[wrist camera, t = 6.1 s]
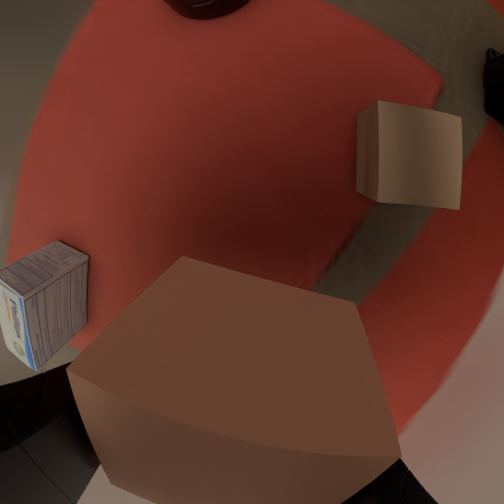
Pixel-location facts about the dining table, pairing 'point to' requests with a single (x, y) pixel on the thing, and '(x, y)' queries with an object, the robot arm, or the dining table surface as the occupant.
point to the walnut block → (409, 155)
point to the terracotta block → (235, 393)
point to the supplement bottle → (203, 7)
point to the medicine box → (43, 302)
